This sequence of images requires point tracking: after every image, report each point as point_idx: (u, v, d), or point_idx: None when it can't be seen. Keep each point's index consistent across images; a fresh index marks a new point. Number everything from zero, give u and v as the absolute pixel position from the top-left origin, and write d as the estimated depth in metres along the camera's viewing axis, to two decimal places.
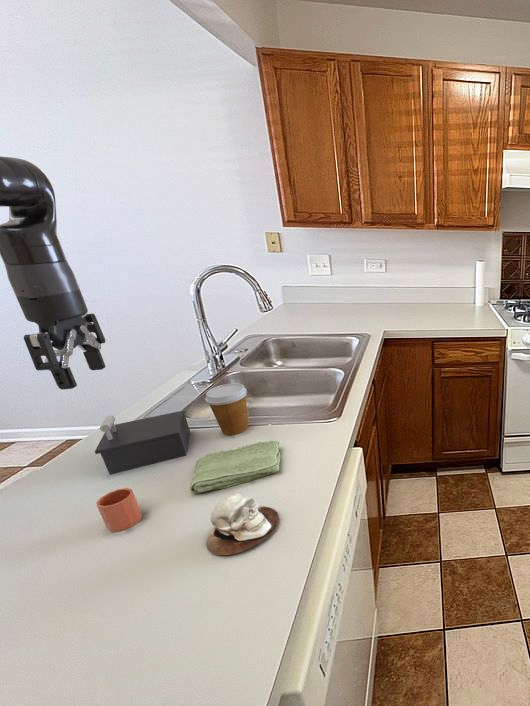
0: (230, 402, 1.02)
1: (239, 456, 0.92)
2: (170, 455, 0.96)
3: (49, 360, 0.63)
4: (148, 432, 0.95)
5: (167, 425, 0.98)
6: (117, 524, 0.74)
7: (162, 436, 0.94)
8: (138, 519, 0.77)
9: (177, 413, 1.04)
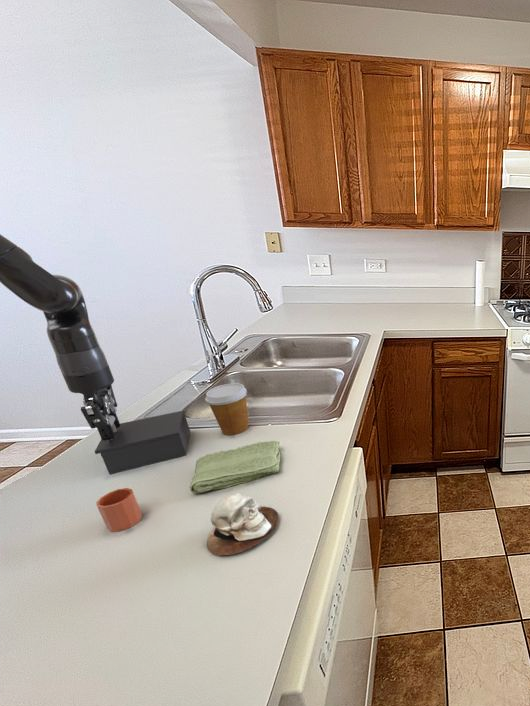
0: (230, 402, 1.02)
1: (239, 456, 0.92)
2: (170, 455, 0.96)
3: (101, 421, 0.87)
4: (148, 432, 0.95)
5: (167, 425, 0.98)
6: (117, 524, 0.74)
7: (162, 436, 0.94)
8: (138, 519, 0.77)
9: (177, 413, 1.04)
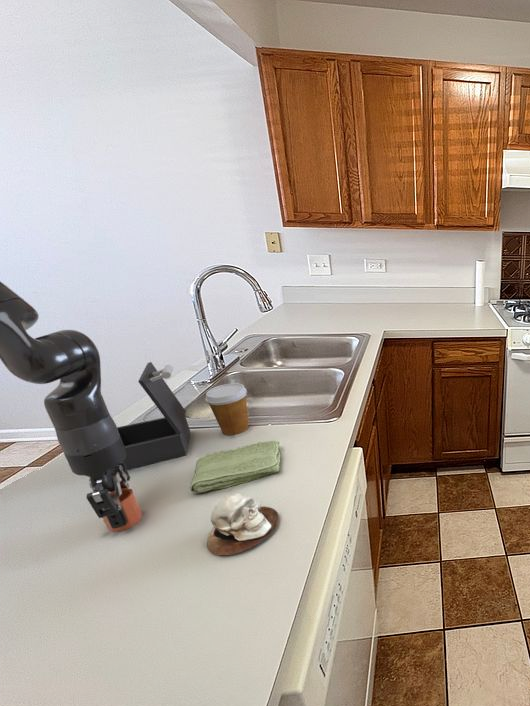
0: (230, 402, 1.02)
1: (239, 456, 0.92)
2: (170, 455, 0.96)
3: (112, 509, 0.70)
4: (167, 406, 0.95)
5: (176, 414, 0.98)
6: None
7: (172, 422, 0.94)
8: (138, 519, 0.77)
9: (182, 409, 1.04)
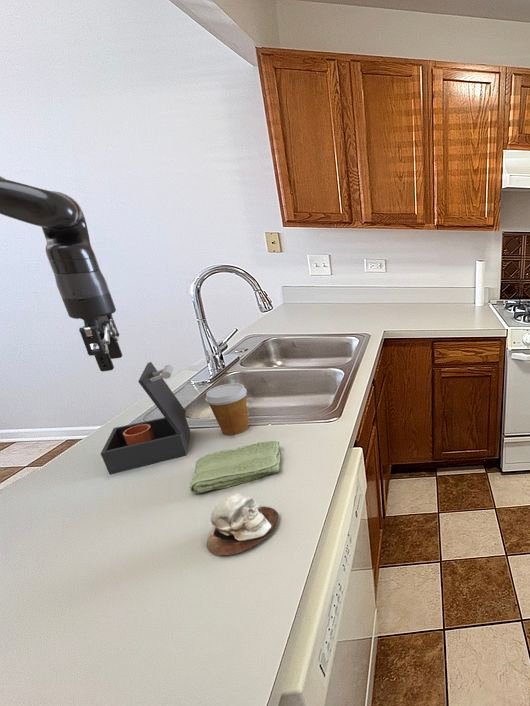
0: (230, 402, 1.02)
1: (239, 456, 0.92)
2: (170, 455, 0.96)
3: (99, 346, 0.82)
4: (167, 406, 0.95)
5: (176, 414, 0.98)
6: None
7: (172, 422, 0.94)
8: None
9: (182, 409, 1.04)
